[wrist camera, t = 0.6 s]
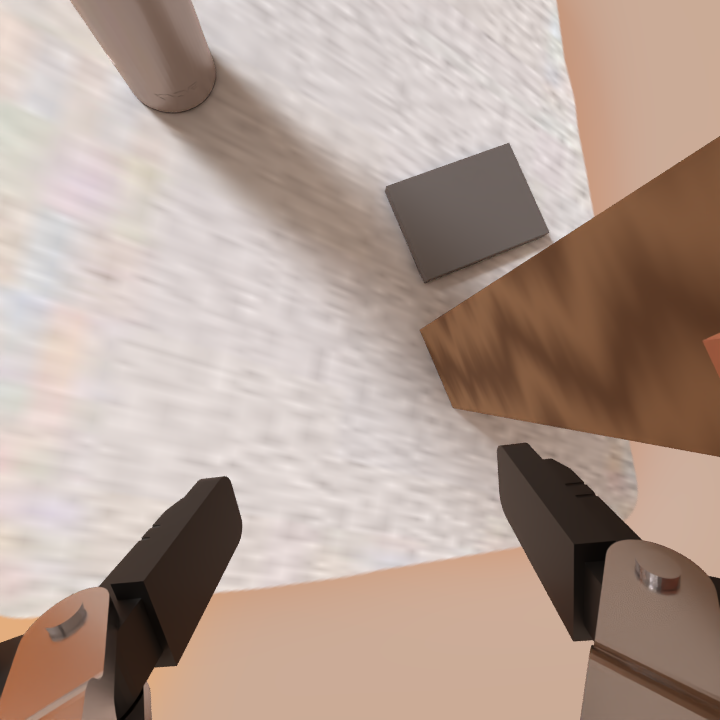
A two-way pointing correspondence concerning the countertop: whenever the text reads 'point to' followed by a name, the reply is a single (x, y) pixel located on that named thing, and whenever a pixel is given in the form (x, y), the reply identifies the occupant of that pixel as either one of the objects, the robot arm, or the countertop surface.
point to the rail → (714, 350)
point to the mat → (466, 212)
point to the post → (604, 322)
